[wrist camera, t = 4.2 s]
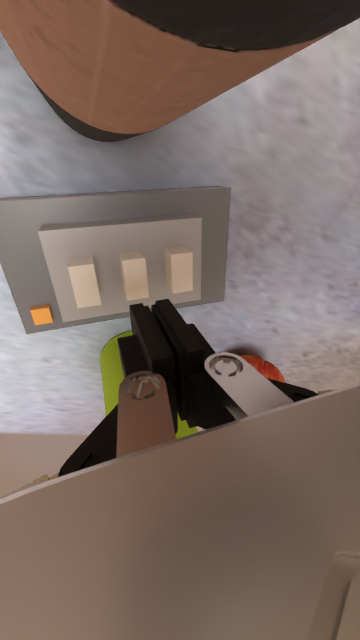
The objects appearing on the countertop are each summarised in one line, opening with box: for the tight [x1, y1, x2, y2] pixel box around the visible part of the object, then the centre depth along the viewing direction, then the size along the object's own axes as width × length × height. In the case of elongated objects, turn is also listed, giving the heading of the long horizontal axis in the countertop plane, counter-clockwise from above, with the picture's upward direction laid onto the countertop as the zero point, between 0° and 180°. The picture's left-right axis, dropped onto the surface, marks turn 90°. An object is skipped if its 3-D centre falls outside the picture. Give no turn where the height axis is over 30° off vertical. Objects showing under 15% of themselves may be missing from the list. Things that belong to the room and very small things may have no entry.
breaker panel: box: [0, 186, 231, 334], centre depth 19 cm, size 16×9×6 cm, turn 92°
